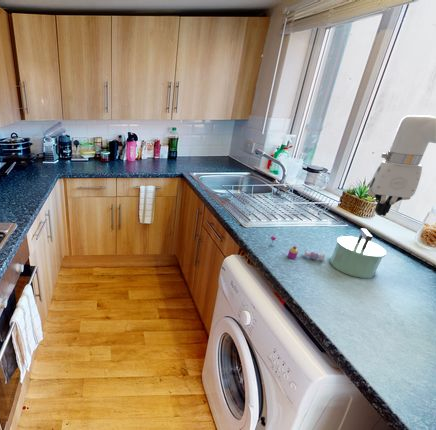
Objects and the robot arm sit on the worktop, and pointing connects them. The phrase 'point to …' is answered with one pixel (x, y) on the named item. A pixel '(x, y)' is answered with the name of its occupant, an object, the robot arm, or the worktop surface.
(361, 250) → the lid
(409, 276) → the worktop surface
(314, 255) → the candies
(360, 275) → the canister
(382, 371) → the worktop surface
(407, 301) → the worktop surface
